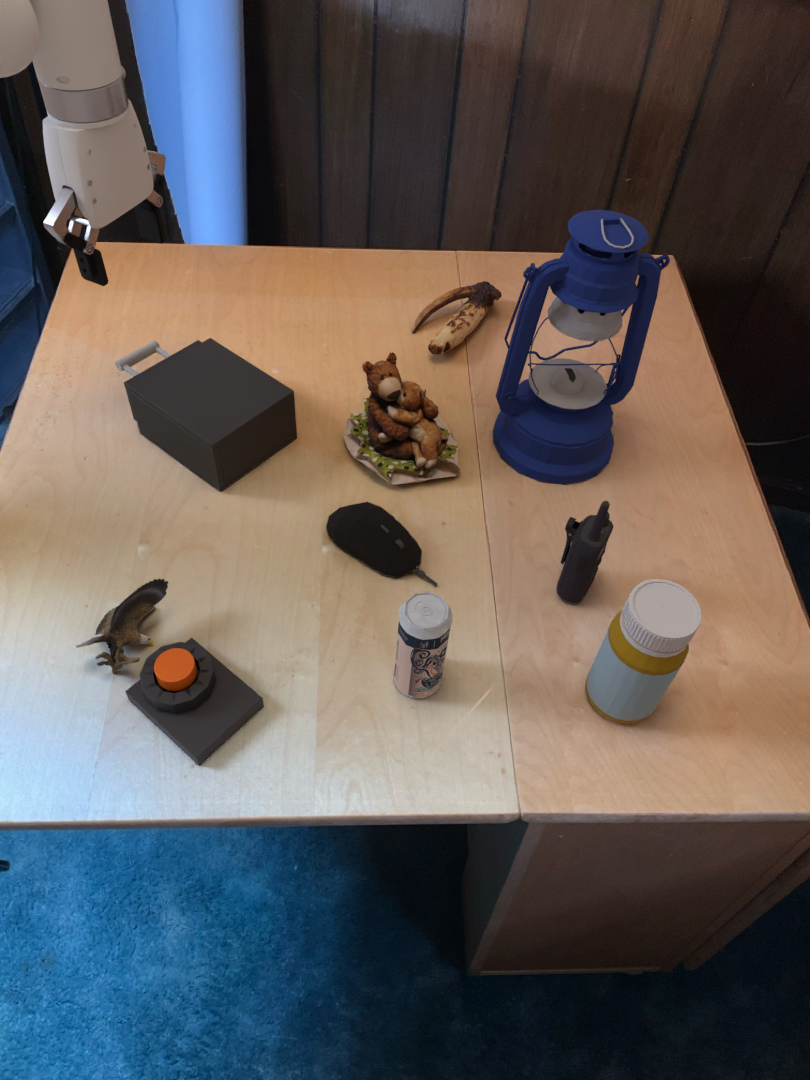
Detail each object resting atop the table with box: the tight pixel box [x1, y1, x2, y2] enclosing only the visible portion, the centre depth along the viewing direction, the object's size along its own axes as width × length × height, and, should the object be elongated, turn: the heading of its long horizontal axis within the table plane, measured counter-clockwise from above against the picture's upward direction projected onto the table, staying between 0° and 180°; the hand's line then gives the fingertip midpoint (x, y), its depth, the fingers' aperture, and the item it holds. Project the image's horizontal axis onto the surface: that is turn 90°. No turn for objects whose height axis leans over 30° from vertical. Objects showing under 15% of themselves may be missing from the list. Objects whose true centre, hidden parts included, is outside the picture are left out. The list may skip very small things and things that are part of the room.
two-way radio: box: [556, 500, 614, 605], centre depth 82 cm, size 6×4×15 cm
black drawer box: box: [127, 337, 298, 493], centre depth 97 cm, size 15×13×8 cm
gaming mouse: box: [326, 501, 439, 587], centre depth 88 cm, size 6×15×4 cm, turn 51°
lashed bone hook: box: [411, 280, 502, 356], centre depth 115 cm, size 9×5×18 cm
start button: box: [154, 648, 197, 691], centre depth 74 cm, size 4×4×2 cm
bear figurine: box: [342, 351, 462, 485], centre depth 95 cm, size 14×15×12 cm
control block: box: [125, 637, 265, 767], centre depth 75 cm, size 10×8×4 cm
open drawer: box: [114, 339, 203, 422], centre depth 99 cm, size 19×11×6 cm, turn 50°
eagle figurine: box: [75, 578, 169, 675], centre depth 78 cm, size 8×7×9 cm
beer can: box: [392, 591, 454, 699], centre depth 75 cm, size 5×5×12 cm
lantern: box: [492, 209, 671, 486], centre depth 91 cm, size 17×15×30 cm
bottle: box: [585, 578, 702, 725], centre depth 74 cm, size 7×7×15 cm
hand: (125, 259), depth 89 cm, fingers open, 9 cm apart
